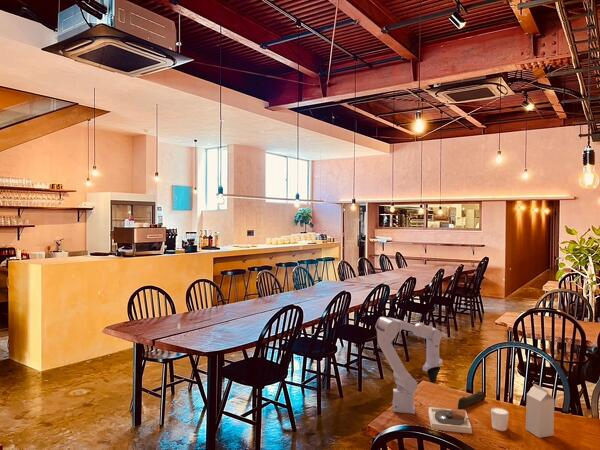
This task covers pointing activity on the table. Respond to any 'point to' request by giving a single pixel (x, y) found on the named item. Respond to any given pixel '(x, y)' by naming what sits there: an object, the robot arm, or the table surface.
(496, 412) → the white cylinder
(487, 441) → the table surface
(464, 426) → the dial plate
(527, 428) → the milk carton
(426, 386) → the table surface
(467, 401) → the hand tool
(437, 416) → the dial
